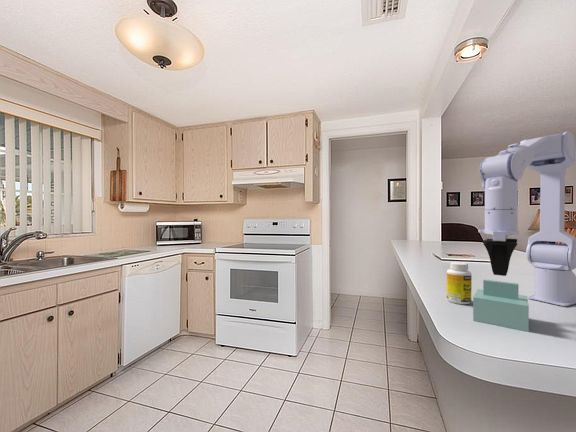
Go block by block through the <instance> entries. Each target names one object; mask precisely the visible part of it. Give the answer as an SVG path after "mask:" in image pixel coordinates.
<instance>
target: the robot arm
mask: <svg viewBox="0 0 576 432" xmlns="http://www.w3.org/2000/svg"><path fill="white" fill-rule="evenodd" d="M575 161H576V140H575V136H574V134H573V133H572V132H570V131H564V132H561V133H556V134H550V135H545V136H541V137H534V138H530V139H523V140H521V141H520V143H517V142H516V143H513V144H509V145H508V146H507V149H505V150H501V151H499V152H498V154H496V155H494V156H490V157H489V156H488V157H486V158H484V160H482V161H481V162H480V166H479V169H478V175H479V178H480V180H481V187H482V188H481V189H482V190H483V191H484V229H478V233H481V234H487V235H491V236H492V238H486V239H483V240H482V243H483V246H484V247H485V249H486V251H487V254H488V257H489V262H490V267H491V271H492V274H493V275H494V276H503V277H506V276H507V274H508V271H509V267H510V262H511V258H512V254H513V253H514V250H515V248H516V247H517V246H518V243H517V242H518V239H517V238H509V236H517V235H518V236H519V235H520V231H519V230H518V229H519V227H518V226H519V225H518V224H519V222H518V219H519V218H518V215H519V210H518V207H519V203H518V198H519V196H518V195H519V193H518V192H519V182H518V180H521V179H522V178H523V176H524V172H525V170H526V168H528V169H529V170H530V171H535V172H538V173H539V174H540V198H539V199H540V201H539V202H540V203H539V207H540V208H539V213H540V214H539V231H538V232H536V233H534V234H532V235H531V236H529V237H528V239H527V240H528V241H527V246H526V250H525V257H526V259H527V261H528V262H529V264H531V266H532V267H534V294H533V295H532V294H531V295H528V296H527V299H530V300H535V301H539V302H543V303H547V304H552V305H556V306H557V305H558V306H561V307H568V306H571V305H575V304H576V274H575V272H573V270H576V237H575V236H574V235H572V234H570V233H568V232H567V231H565V220H566V219H565V217H566V216H565V214H566V213H565V211H566V208H565V205H566V204H565V203H566V200H565V199H566V196H565V195H566V174H567V169H568V168H570V167H572V166H574V165H575ZM552 242H553V243H552ZM554 242H556V243H554Z"/></svg>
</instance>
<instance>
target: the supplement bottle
mask: <svg viewBox="0 0 576 432" xmlns="http://www.w3.org/2000/svg"><path fill="white" fill-rule="evenodd" d="M449 265H450V266H449V268H450V269H447V271H446V300H447V301H449V302H450V303H453V304H458V305H469V304H471V303H472V279H473V278H472V276H473V275H472V272H471V271H470V270H469V264H468V263H466V262H458V261H452V262H450V264H449Z"/></svg>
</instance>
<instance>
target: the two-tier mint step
mask: <svg viewBox="0 0 576 432" xmlns="http://www.w3.org/2000/svg"><path fill="white" fill-rule="evenodd" d="M527 297H528V296H527V295H522V294H519V283H516V282H510V281H509V282H508V281H501V280H492V279H491V280H490V279H483V288H482V289H479V288H477V290H476V292H475V293H474V296H472V299H473V300H472V306H473V307H472V309H473V312H472V320H473V321H474V322H479V323H483V324H488V325H493V326H498V327H503V328H509V329H513V330H518V331H524V332H529V331H530V330H529V327H530V326H529V323H530V322H529V320H530V319H529V313H530V312H529V310H530V309H529V300H528V299H529V298H527Z"/></svg>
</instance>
